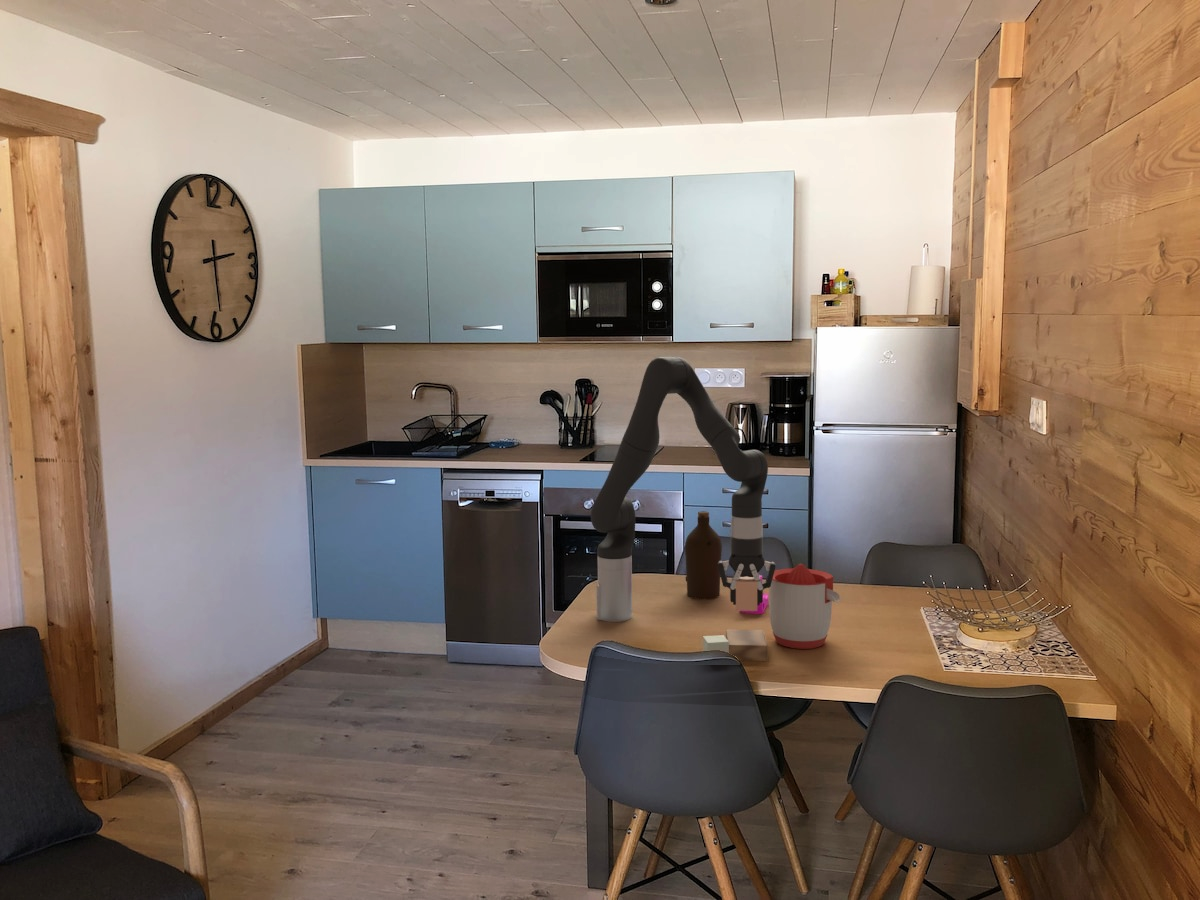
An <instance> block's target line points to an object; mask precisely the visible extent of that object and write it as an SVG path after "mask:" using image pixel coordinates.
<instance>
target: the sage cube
mask: <svg viewBox="0 0 1200 900" xmlns="http://www.w3.org/2000/svg"><path fill="white" fill-rule="evenodd" d="M710 650H720V651H725V652H728V653H729V641H728V640H727V639H726V635H724V634H720V635H719V634H718V635H703V636H702V652H703V651H710Z"/></svg>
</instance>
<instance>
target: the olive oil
mask: <svg viewBox="0 0 1200 900" xmlns="http://www.w3.org/2000/svg"><path fill="white" fill-rule="evenodd" d="M684 542H685V543H684V550H685V551H684V552H685V565H686V566H685V570H686V572H685V573H686V574H685V582H686V594H687V597H689V598H691V599H695V600H712V599H717V598H719V597H720V593H721V592H720V591H721V576H720V572H719V568H718V562H719V561H722V550H723V549H722V548H723V543H722V540H721V537H720V535H719V534H718V533H717V532H716V531H715V529H713V527H712V526H711V524H710V512H709V511H706V510H705V511H704V510H701V511H700V510H699V511H698V512H697V525H696V526H695V527H694V528H693V529H692V530H691V531H690V533H688V534H687V537H686V539H685V541H684Z"/></svg>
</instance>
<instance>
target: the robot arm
mask: <svg viewBox="0 0 1200 900" xmlns="http://www.w3.org/2000/svg"><path fill="white" fill-rule="evenodd" d="M671 394H672V395H673V394H677V395H678V396H679V397H681V398H682V399H683V400H684V401H685V403H687V405H689V407H690V409H691V411H692V413H693V418H694V421H695V424H696V428H697V429H698V431H699V433H700V434H701V436H702V437H703V438H704V440H705V441H706V442H707V443H708V444H709V445H710V447H711V448H712V449H713V450H714V451H715V454H716V457H717V459H718V461H719V463H720V465H721V467H722V469H723V471H724V473H725V474H726V475H727V476H728V477H729V478H730V479H731V480H733V481H735V482H737V483H741V484H740V486H739V488H738V489H737V490H736V491H734V492H733V494H732V496H731V520H730V557H729V558H728V560H724V561H723V560H721V561H719V562H718V568H719V572H720V581H721V583H722V586H723V587H724V588H727V589H729V591H730V592H729V593H730V594H729V595H730V596H729V597H730V603H732V605H734V606H736V581H738V580H739V578H740V577H754V580H755V581H757V587H758V588H757V605H760V603H762V602H763V593H764V590H765V589H769V588H770V587H771V583H772V579H773V575H774V571H775V570H776V563H775V561H767V560H765V559H764V556H763V553H764V551H763V549H764V545H763V544H764V543H763V540H764V539H763V535H764V530H763V529H764V526H763V519H762V512H763V510H762V505H763V504H762V503H763V501H762V498H763V495H764V490H765V486H766V484H767V477H768V473H769V464H768V460H767V458H766V456H765V454H764V453H763V452H762V451H760V450H758V449H748V450H742V449H740V448H739V444H740V443H741V436H740V433H739V432H738V430H737V429H736V428H735V427H734V426H733V424H731V423H730V422H729V420H728V419H727V418H726V416H724V414H723V413H722V412H721V411H720V410H719V408H718V407H717V405H716V404H715V403H714V401H713V400H712V398H711V397H710V395H709V393H708V391H707V390H706V388H705V387H704V385H703V384H702V382H701V380H700V378H699V377H698V375H697V373H696V371H695V370H694V369H693V367H692V365H691V363H689V361H687V360H686V359H685V358H682V357H680V356H659V357H655V358H654V359H652V360H651V361H650V362H649V363H648V365H647V367H646V369H645V372H644V375H643V378H642V382H641V385H640V389H639V393H638V396H637V400H636V403H635V406H634V408H633V411H632V414H631V417H630V419H629V422H628V425H627V427H626V430H625V432H624V434H623V437H622V439H621V442H620V444H619V447H618V450H617V453H616V456H615V458H614V461H613V463H612V465H611V468H610V470H609V472H608V474H607V478H606V479H605V481H604V484H603V485H602V487H601V490H600V491H599V493H598V494H597V497H596V499H595V500H594V501H593V505H592V507H591V511H590V521H591V522H590V523H591V524H592V526H593V528H594V530H595V531H597V532H599V533H604V534H605V533H606V534H607V535H606V536H605V538H604V539H603V540H602V541H601V542H600V543H599V544H598V546H597V550H596V551H597V554H596V555H597V584H596V620H599V621H603V622H607V623H608V622H609V623H620V622H621V623H622V622H625V621H626V622H627V621H629V620H631V619H632V618H633V578H632V577H633V572H632V570H633V567H632V566H633V564H632V563H633V562H632V561H633V559H632V555H633V554H632V551H633V548H634V545H635V542H636V541H635V538H636V537H635V536H636V510H635V506H634V504H633V502H632V500H631V499H630V498H629V497H628V496H627V494H628V493H629V491H630V490H631V488H632V487H633V486H634V485H635V484H636V483H637V481H638V480H640V478H642V476H643V475H644V474H645V473H646V471H647V470H648V468H649V467H650V465H651V464H652V462H653V458H654V457H655V454H656V452H657V450H658V448H659V444H660V428H659V427H660V426H659V415H660V414H659V413H660V410H661V408H662V406H663V403H664V400H665V399H666V397H667V395H671ZM728 566H730V568H731V569H732V570H733V572H734V574H733V576H732V579H731V581H729V580H728V577H727V573H726V571H727V570H728ZM764 566H765V570H766V571H767V575H766V578H765V581H763V580H762V581H761V579H760V576H759V575H760V573H759V572H760V571H762V569H763V567H764Z"/></svg>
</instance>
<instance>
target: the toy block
mask: <svg viewBox="0 0 1200 900" xmlns="http://www.w3.org/2000/svg"><path fill="white" fill-rule="evenodd" d="M759 576H760V579H761V581H762V582H763V575H761V574H759ZM757 588H758V587H757ZM768 605H769V593H764V592H763V602H762V603H760V605H757V611H739V613H746V614H757V615H759V614H760V615H763V613H765V612H764V611H766V608H767V607H768Z"/></svg>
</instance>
